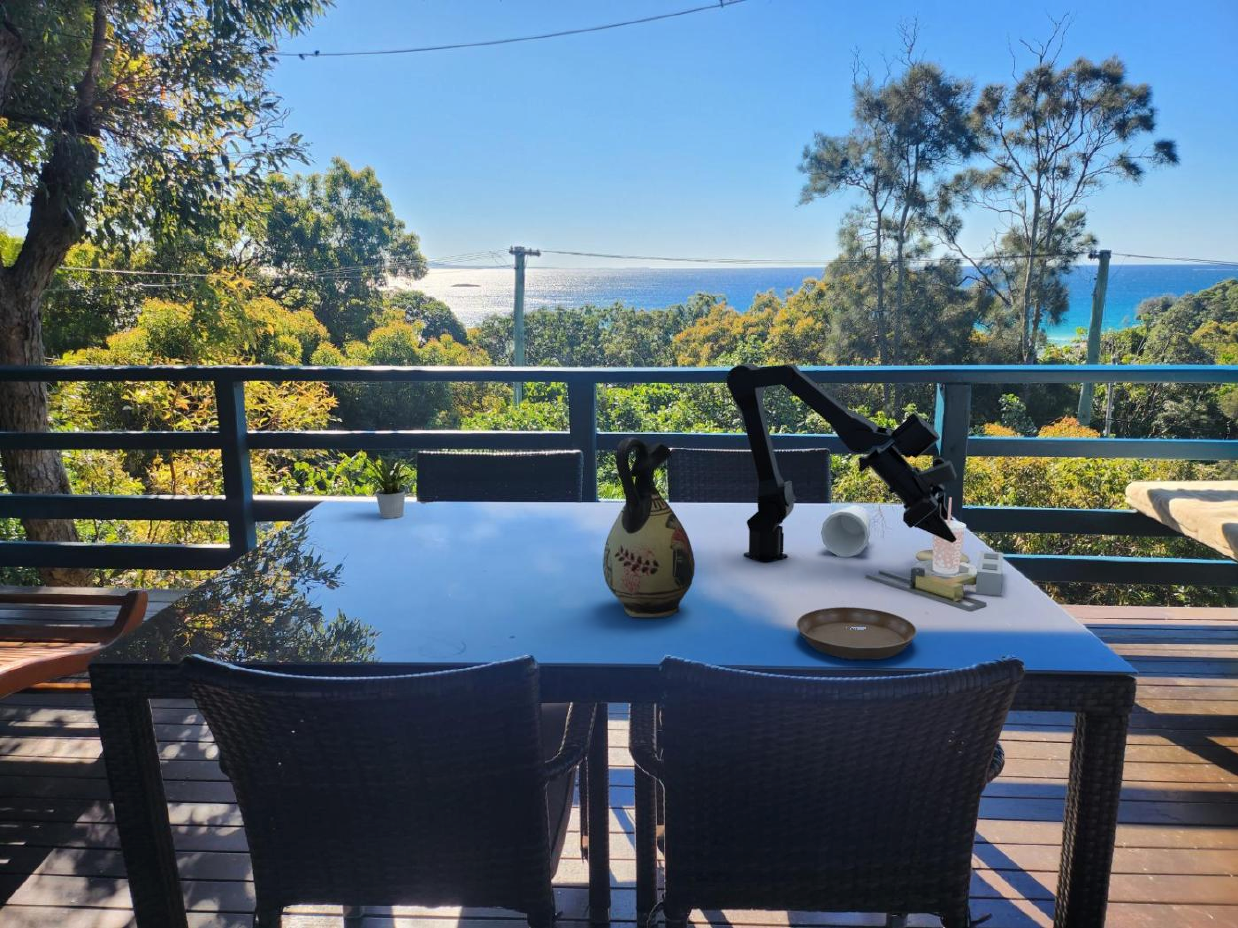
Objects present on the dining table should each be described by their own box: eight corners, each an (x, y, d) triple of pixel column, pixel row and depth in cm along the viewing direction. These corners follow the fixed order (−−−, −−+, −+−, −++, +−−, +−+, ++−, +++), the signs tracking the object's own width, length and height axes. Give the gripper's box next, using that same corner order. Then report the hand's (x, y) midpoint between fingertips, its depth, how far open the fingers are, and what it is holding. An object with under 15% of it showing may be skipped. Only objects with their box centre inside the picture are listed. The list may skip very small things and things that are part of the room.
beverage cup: (941, 576, 166) (946, 502, 163) (921, 566, 172) (926, 495, 169) (969, 573, 168) (975, 500, 165) (949, 564, 173) (954, 493, 171)
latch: (953, 601, 154) (954, 582, 154) (907, 587, 163) (908, 568, 162) (983, 592, 159) (984, 574, 158) (936, 578, 167) (937, 561, 166)
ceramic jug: (640, 589, 165) (639, 426, 159) (712, 606, 155) (712, 433, 149) (578, 615, 152) (574, 439, 146) (651, 636, 142) (650, 448, 136)
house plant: (345, 521, 218) (340, 454, 215) (376, 508, 231) (372, 445, 228) (397, 524, 214) (393, 457, 211) (426, 511, 227) (422, 447, 224)
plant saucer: (774, 632, 143) (774, 614, 143) (867, 617, 149) (868, 599, 149) (839, 675, 127) (840, 654, 126) (941, 655, 133) (942, 636, 133)
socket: (910, 586, 164) (911, 564, 163) (918, 564, 177) (919, 543, 176) (1000, 595, 158) (1001, 573, 157) (1001, 572, 171) (1003, 551, 170)
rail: (969, 611, 151) (970, 607, 151) (865, 577, 169) (865, 574, 169) (986, 605, 153) (986, 602, 153) (881, 573, 172) (881, 570, 172)
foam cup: (870, 546, 193) (861, 563, 182) (828, 533, 197) (816, 549, 185) (882, 505, 191) (873, 519, 179) (839, 492, 194) (827, 505, 182)
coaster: (947, 568, 174) (947, 566, 174) (905, 556, 182) (905, 554, 182) (979, 559, 179) (979, 558, 179) (937, 548, 187) (937, 546, 187)
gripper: (926, 454, 159) (989, 521, 156) (935, 438, 175) (992, 499, 173) (877, 494, 163) (938, 560, 161) (891, 475, 180) (946, 534, 178)
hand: (955, 536), depth 168 cm, fingers closed on beverage cup, 6 cm apart
